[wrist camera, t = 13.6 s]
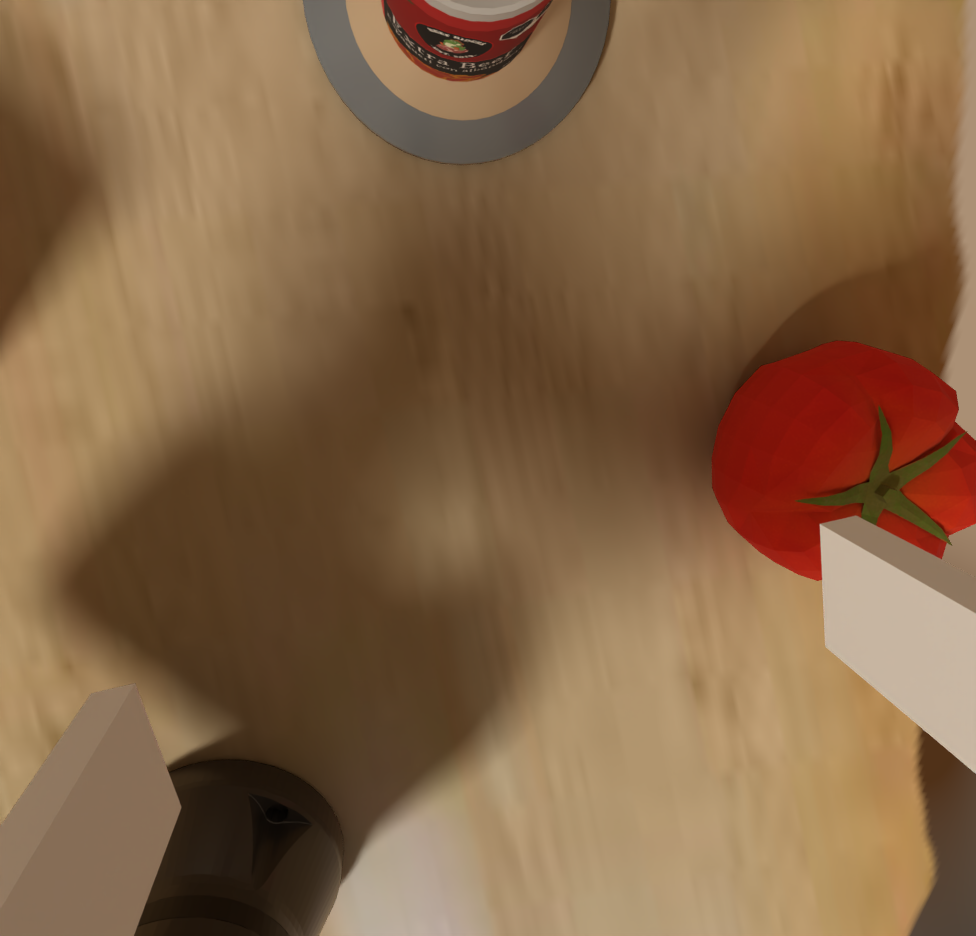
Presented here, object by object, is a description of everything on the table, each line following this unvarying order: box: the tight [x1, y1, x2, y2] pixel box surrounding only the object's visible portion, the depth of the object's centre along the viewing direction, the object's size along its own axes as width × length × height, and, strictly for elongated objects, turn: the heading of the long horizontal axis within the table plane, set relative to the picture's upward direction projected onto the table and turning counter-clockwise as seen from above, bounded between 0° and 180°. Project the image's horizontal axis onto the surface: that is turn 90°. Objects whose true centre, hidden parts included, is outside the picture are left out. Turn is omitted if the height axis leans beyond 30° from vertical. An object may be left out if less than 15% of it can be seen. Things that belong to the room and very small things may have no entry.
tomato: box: [712, 341, 976, 581], centre depth 39 cm, size 14×13×10 cm
